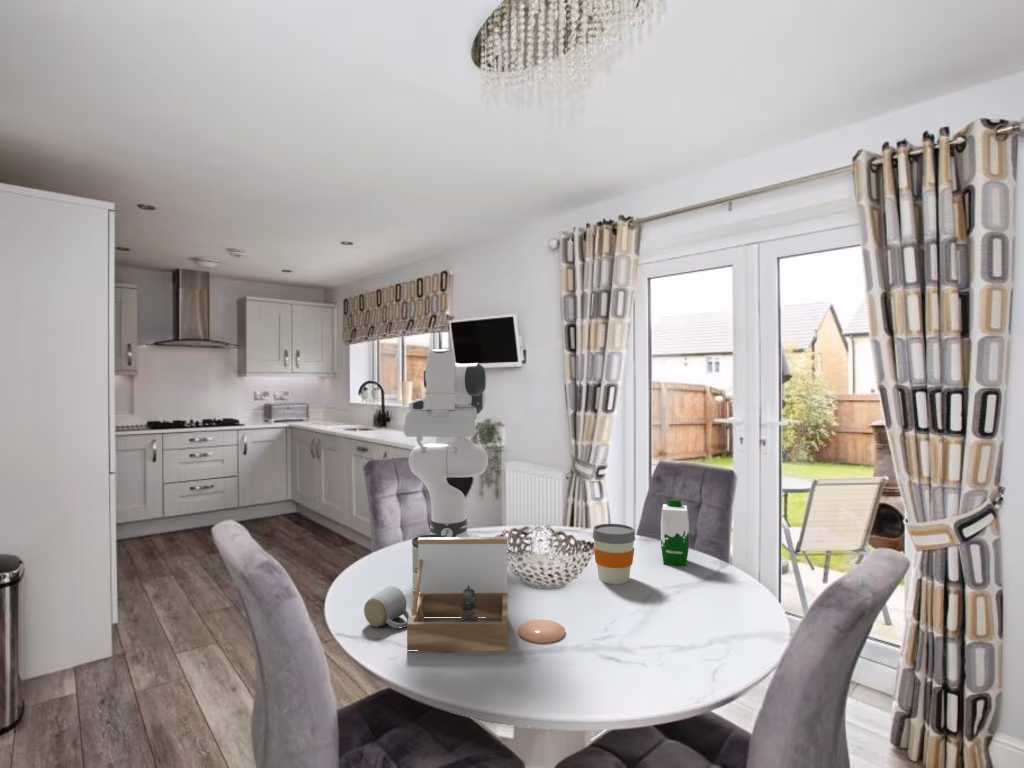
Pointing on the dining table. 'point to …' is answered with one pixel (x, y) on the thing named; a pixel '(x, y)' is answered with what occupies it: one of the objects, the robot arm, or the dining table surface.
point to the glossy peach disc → (541, 631)
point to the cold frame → (458, 624)
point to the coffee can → (415, 556)
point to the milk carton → (674, 532)
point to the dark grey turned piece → (468, 607)
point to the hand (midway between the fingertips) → (440, 453)
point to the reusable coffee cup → (613, 552)
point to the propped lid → (461, 565)
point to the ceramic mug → (386, 607)
